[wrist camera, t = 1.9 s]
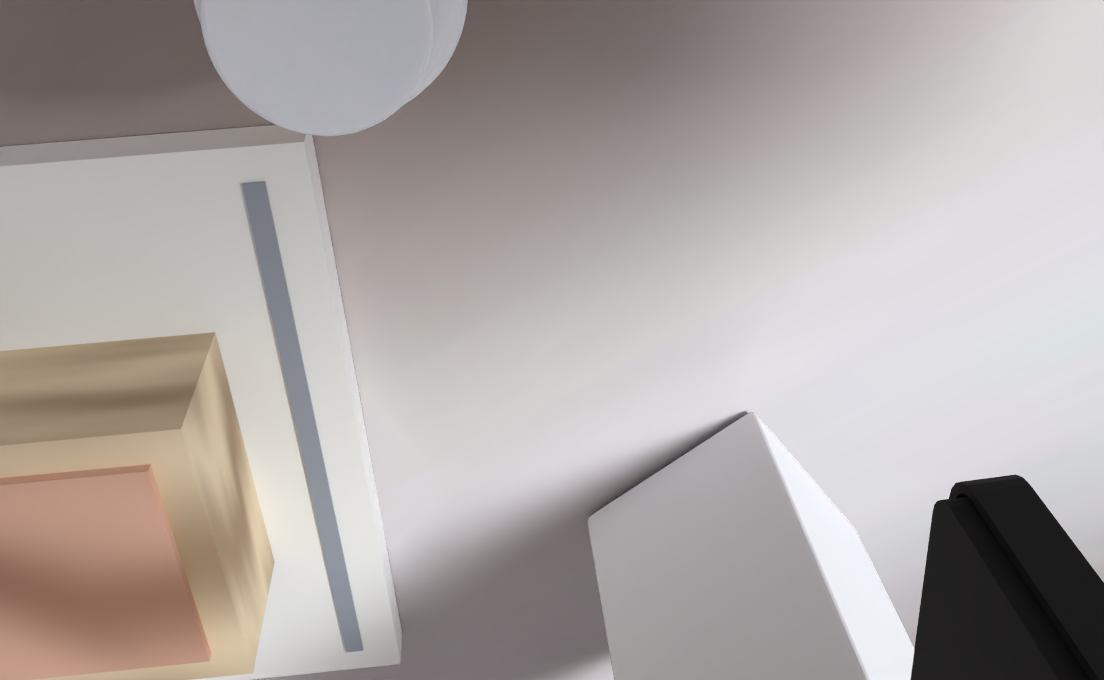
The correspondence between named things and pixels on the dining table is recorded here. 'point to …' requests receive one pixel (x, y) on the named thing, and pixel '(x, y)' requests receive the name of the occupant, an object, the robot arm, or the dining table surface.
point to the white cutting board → (223, 343)
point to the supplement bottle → (329, 56)
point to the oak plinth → (127, 515)
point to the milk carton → (741, 573)
